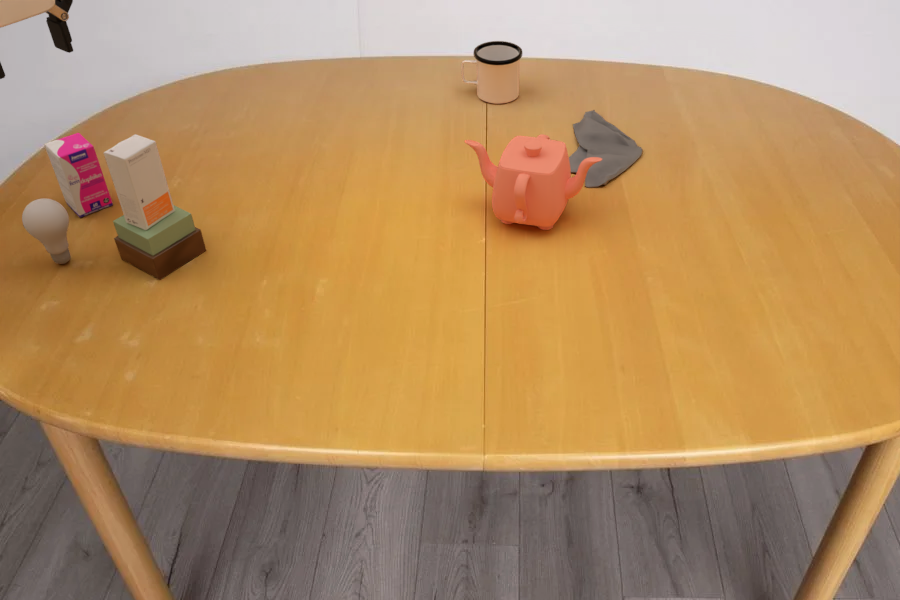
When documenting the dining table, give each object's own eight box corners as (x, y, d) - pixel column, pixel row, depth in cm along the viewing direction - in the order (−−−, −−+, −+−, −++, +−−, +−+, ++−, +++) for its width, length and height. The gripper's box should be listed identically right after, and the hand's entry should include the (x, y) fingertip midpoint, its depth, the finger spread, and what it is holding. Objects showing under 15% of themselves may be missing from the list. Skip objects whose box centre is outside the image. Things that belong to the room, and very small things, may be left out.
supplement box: (80, 219, 142) (56, 157, 134) (66, 204, 145) (41, 143, 137) (115, 205, 145) (93, 144, 137) (99, 191, 148) (78, 130, 140)
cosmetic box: (147, 231, 127) (123, 159, 119) (126, 223, 129) (101, 152, 121) (177, 211, 131) (156, 140, 123) (156, 203, 133) (134, 132, 125)
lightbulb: (78, 245, 136) (54, 185, 129) (90, 265, 133) (66, 204, 125) (37, 259, 134) (10, 199, 126) (49, 280, 130) (21, 218, 123)
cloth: (634, 193, 147) (636, 181, 146) (554, 183, 150) (554, 172, 148) (648, 119, 166) (649, 108, 165) (576, 111, 168) (577, 101, 167)
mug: (525, 85, 176) (525, 42, 170) (518, 107, 170) (518, 63, 164) (466, 81, 178) (465, 38, 172) (457, 103, 171) (455, 59, 165)
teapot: (597, 223, 141) (603, 154, 132) (505, 250, 135) (506, 180, 127) (552, 178, 151) (555, 111, 142) (465, 201, 145) (463, 134, 137)
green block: (153, 255, 128) (147, 239, 126) (118, 237, 131) (112, 221, 129) (195, 229, 133) (191, 213, 131) (161, 212, 136) (156, 196, 134)
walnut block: (159, 280, 130) (152, 258, 127) (121, 259, 134) (113, 238, 131) (206, 250, 135) (200, 229, 133) (168, 231, 139) (161, 210, 137)
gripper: (29, -101, 109) (72, 33, 120) (-111, -66, 98) (-49, 78, 109) (66, -90, 106) (106, 47, 117) (-75, -52, 95) (-15, 94, 106)
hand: (31, 62), depth 113 cm, fingers open, 9 cm apart
